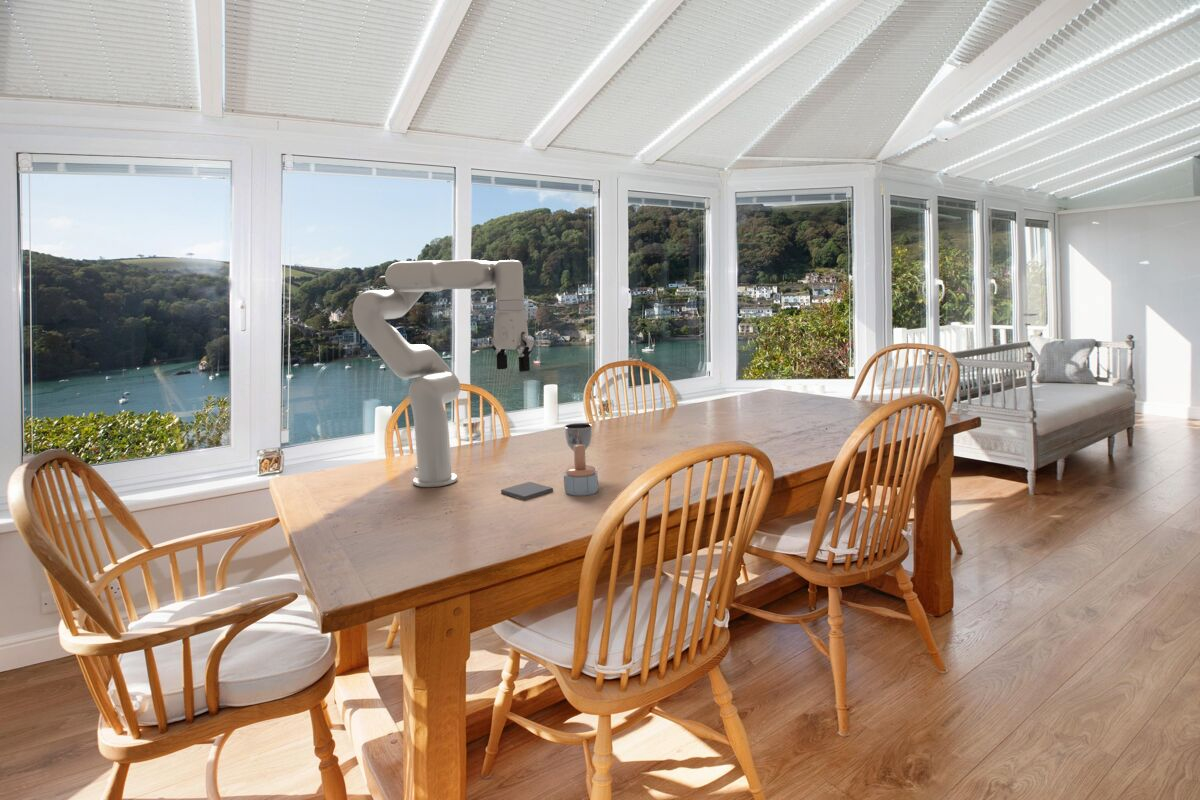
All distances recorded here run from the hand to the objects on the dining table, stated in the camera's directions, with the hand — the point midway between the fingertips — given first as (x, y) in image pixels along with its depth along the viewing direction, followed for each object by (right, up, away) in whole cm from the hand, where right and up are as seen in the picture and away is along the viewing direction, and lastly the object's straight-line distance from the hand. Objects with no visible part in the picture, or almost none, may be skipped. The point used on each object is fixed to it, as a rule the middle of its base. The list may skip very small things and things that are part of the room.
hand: (513, 370), depth 187 cm
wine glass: (+18, -31, +15) cm, 39 cm away
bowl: (+19, -33, -1) cm, 38 cm away
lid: (+18, -28, -2) cm, 34 cm away
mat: (+4, -33, 0) cm, 34 cm away
